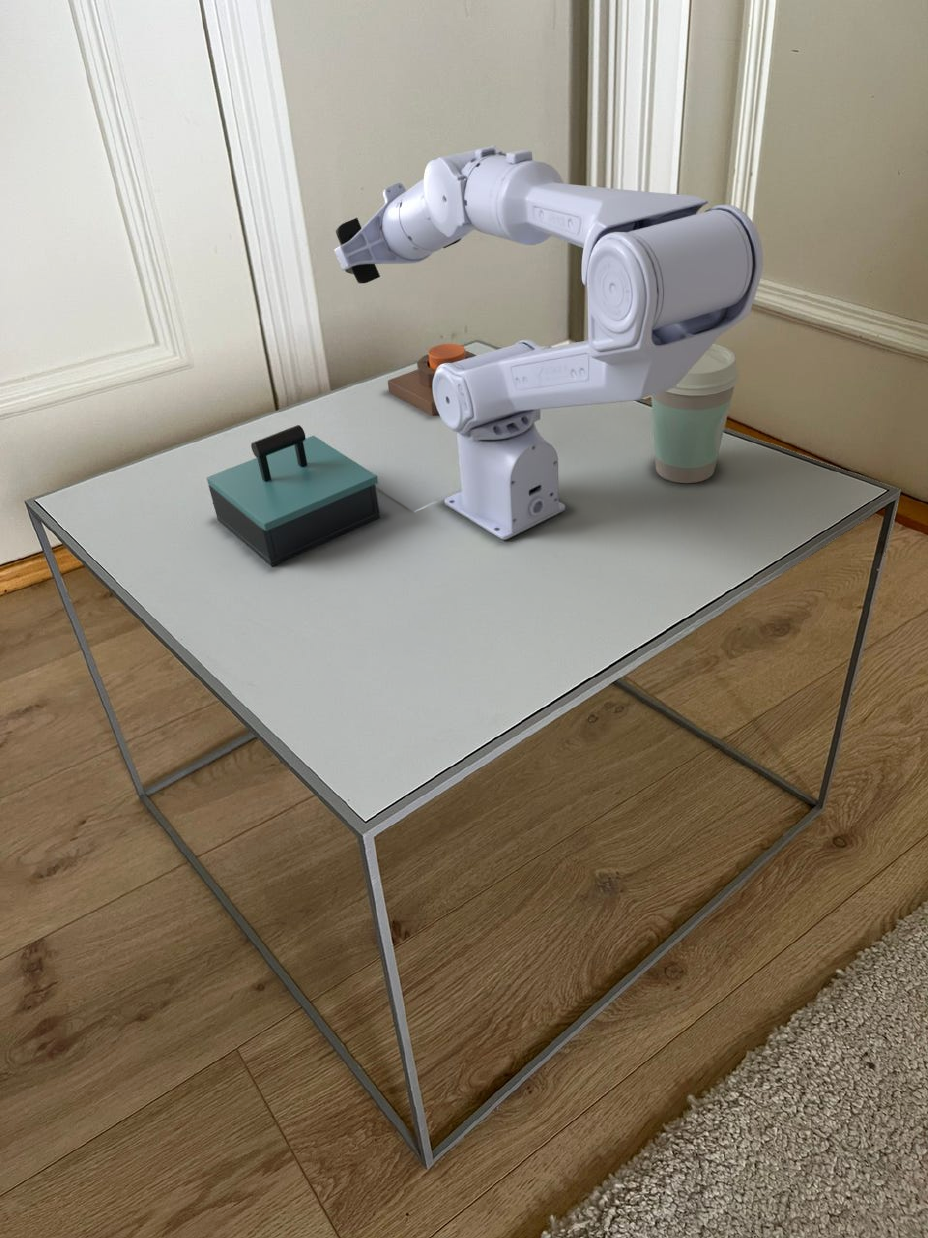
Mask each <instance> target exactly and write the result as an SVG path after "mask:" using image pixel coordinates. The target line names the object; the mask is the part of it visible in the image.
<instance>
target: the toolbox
mask: <svg viewBox="0 0 928 1238" xmlns="http://www.w3.org/2000/svg"><path fill="white" fill-rule="evenodd" d="M250 447H251V451H252V454H253V455H254V456H255V458H252V459H249V460H248V461H245V462H242V463H240V464H237V465H235V466H231V467H229V468H226V469H224V470H221V471H220V472H217V473H214V474H212V475H208V476H207V477H206V481H207V484H208V486H209V485H210V486H211V487H212V488H214V489H215V490H216V491H217V492H218V493H220V494H221V495H222V496H223V497H225V498H226V499H227V500H228V501H229V502H231V503H232V504H233V505H234V506H236V507H237V508H238V509H239V510H241V511H242V512H243V513H244V514H245V515H247V516H248V517H249V518H250V519H252V520H253V521H254V522H255V523H256V524H258V525H259V526H260V527H261V528H263V529H264V530H265V531H268V530H270V529H273V528H275V527H277V526H280V525H282V524H284V523H287V522H289V521H291V520H294V519H296V518H298V517H300V516H303V515H305V514H307V513H310V512H312V511H314V510H317V509H319V508H321V507H324V506H326V505H328V504H330V503H333V502H335V501H337V500H340V499H342V498H344V497H347V496H349V495H351V494H354V493H356V492H358V491H360V490H363V489H365V488H367V487H370V486H372V485H374V484H375V485H377V484H379V480H378V475H377V474H375V473H373V472H372V471H370V470H369V469H367V468H366V467H364V466H362V465H361V464H359V463H358V462H356V461H354V460H353V459H351V458H350V457H348V456H347V455H346V454H343V453H342V452H340V451H339V450H337V449H336V448H334V447H332V446H331V445H329V443H326V442H325V441H323V440H322V439H320V438H318V437H317V436H316V435H312V436H309V437H306V432H305V431H304V428H303V427H302V426H301V425H300V424H296V425H294V426H292V427H288V428H286V429H283V430H280V431H277V432H276V433H272V434H271V435H268V436H264V437H263V438H260V439H257V440H255V441H253V442H251V443H250Z"/></svg>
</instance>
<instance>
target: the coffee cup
mask: <svg viewBox="0 0 928 1238" xmlns="http://www.w3.org/2000/svg"><path fill="white" fill-rule="evenodd" d="M739 372H740V369H739V367H738V365H737V360H736V356H735V354H734V352H733V351H732V350H730V349H728V347H725V346H722V345H719V344H717V343H713V344H712V345H711V347H710V348H709V349H708V350H707V351H706V352H705V353H704V355H703V356H702V357H701V358H700V359H699V360H698V362H697V363H696V364H695V365H694V366H693V367H692V368H691V370H690V371H689V372H688V373H687V374H686V375H685V377H684V378H683V379H682V380H681V381H680V382H679V383H678V384H677V385H676V386H675V387H673V388H671V389H669V390H666V391H663V392H660V393H657V394H655V395H652V396H650V398H651V399H650V400H651V414H652V415H651V416H652V429H653V430H652V431H653V442H654V443H653V445H654V459H655V461H654V462H655V470H656V473H657V474H658V475H659V476H660V477H661V478H663V479H665V480H666V481H669V482H673V483H678V484H694V483H699V482H703V481H705V480H707V479H709V478H710V477H712V476H713V475H714V473H715V469H716V465H717V461H718V457H719V453H720V448H721V444H722V440H723V436H724V432H725V428H726V424H727V418H728V415H729V411H730V406H731V402H732V399H733V394H734V389H735V386H736V385H737V384H738V382H739V380H740V374H739Z"/></svg>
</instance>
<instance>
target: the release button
mask: <svg viewBox="0 0 928 1238" xmlns="http://www.w3.org/2000/svg"><path fill="white" fill-rule="evenodd" d="M465 351H466V348H465V347H464V346H463V345H462V344H461V345H460V344H456V343H444V344H438V345H436V346H433V347H432V348H430V349H429V350H428V354H429V363H430V368H432V369H434V370H436V369H437V368H438V366H440V365H441V364H444V363H454V362H458V361H461V360H464V359H466V352H465Z"/></svg>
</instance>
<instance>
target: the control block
mask: <svg viewBox="0 0 928 1238" xmlns="http://www.w3.org/2000/svg"><path fill="white" fill-rule="evenodd" d="M465 352H466V359H468V358H471V357H474V356H478V355H477V354H474V353H472V352H471V351H468V350H465ZM416 368H417V369H415V370H412V371H409V372H406V373H404V374H401V375H399V376H396V377H393V378H391V379H388V380H387V387H388V394H390V395H392V396H393V397H395V398H397V399H399V400H401V401H403V402H405V403H407V404H408V405H411V406H412V407H414V408H416V409H419V410H421V412H424V413H426V414H428V415H429V416H432V417H434V416H437V415H439V413H438V410H437V408H436V405H435V401H434V396H433V378H434V376H435V372H436V370H434V369H432V368H430V363H429V353H428V354H426V355H425V354H424V355H423V356H422V357H421V358H420V359H419V360H418V361H417V362H416Z"/></svg>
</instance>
